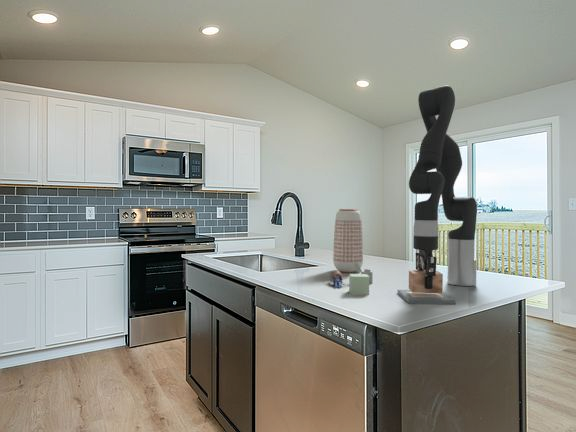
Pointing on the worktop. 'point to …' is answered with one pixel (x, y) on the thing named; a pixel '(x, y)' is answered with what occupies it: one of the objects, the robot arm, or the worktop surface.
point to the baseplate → (426, 297)
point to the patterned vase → (348, 240)
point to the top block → (359, 283)
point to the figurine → (336, 278)
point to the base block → (419, 282)
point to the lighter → (364, 272)
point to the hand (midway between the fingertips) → (425, 286)
